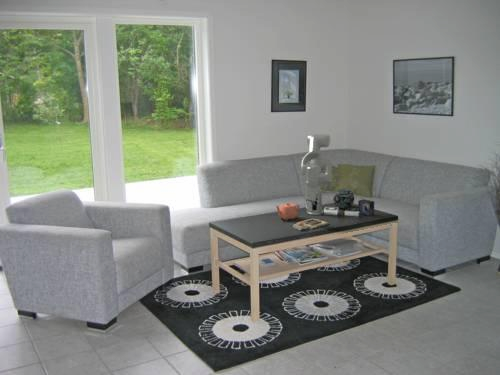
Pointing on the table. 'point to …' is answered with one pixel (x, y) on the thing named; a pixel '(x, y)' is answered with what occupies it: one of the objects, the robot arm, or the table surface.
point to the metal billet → (310, 206)
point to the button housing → (300, 227)
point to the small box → (366, 207)
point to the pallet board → (314, 223)
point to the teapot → (288, 211)
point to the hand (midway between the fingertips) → (312, 209)
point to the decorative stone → (343, 198)
